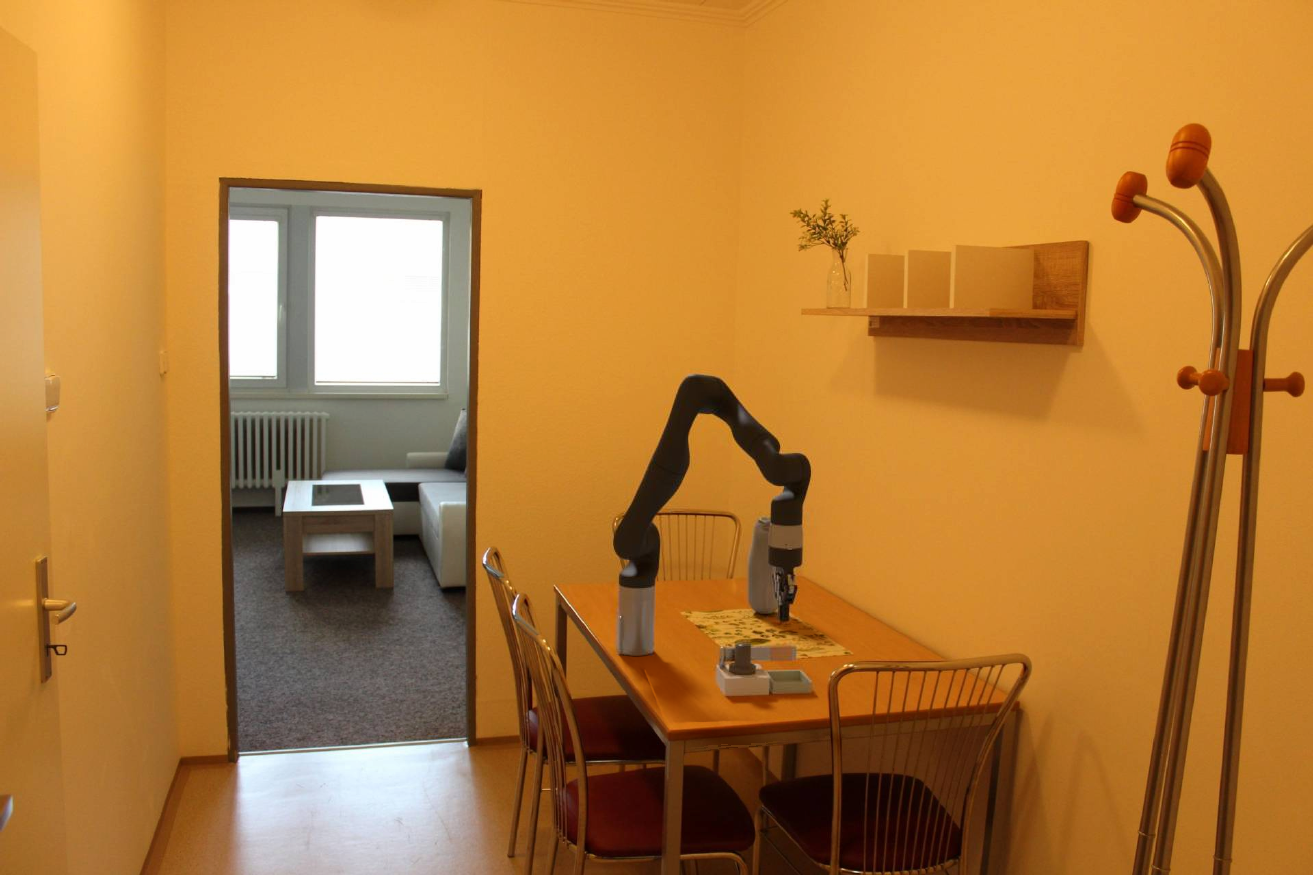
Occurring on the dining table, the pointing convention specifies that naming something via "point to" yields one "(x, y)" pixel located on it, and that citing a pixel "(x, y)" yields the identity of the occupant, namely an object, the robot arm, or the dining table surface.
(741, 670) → the plug
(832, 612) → the dining table surface
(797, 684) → the tray
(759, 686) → the socket block
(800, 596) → the dining table surface
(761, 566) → the grey bottle
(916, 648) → the dining table surface
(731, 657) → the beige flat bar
